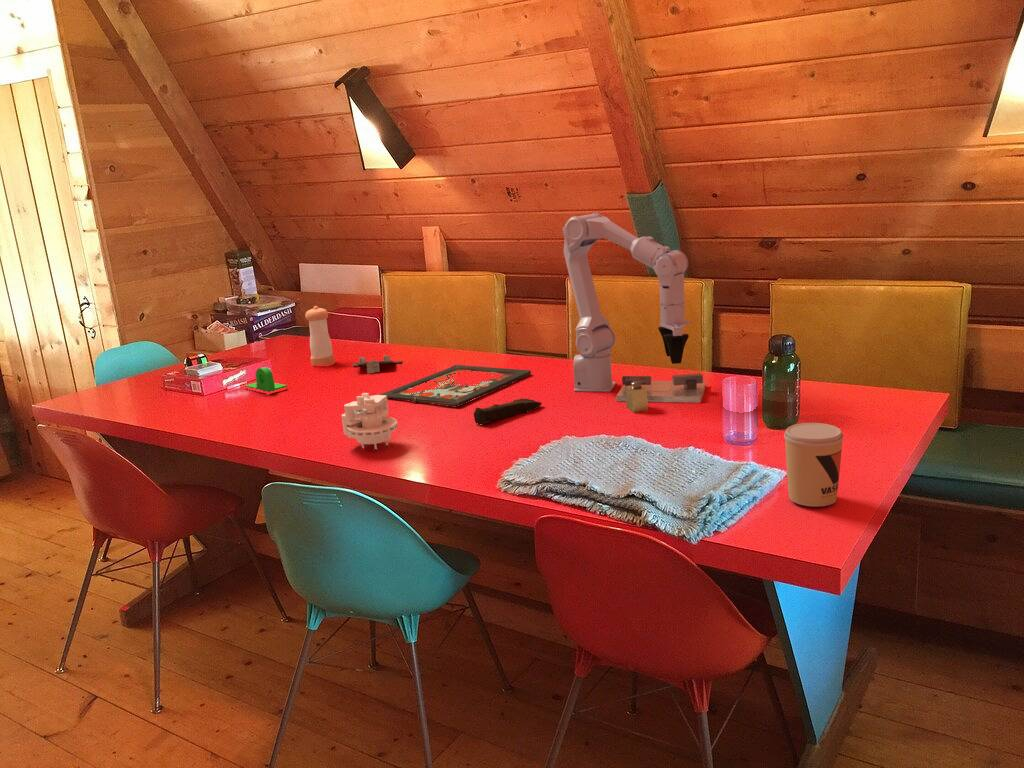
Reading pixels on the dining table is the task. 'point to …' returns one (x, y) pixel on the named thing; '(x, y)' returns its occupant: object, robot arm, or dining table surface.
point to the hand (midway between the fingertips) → (673, 359)
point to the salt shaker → (319, 337)
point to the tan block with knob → (636, 397)
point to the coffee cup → (813, 463)
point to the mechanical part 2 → (368, 420)
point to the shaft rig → (668, 388)
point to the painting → (453, 393)
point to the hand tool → (504, 410)
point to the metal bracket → (374, 363)
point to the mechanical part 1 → (265, 380)
